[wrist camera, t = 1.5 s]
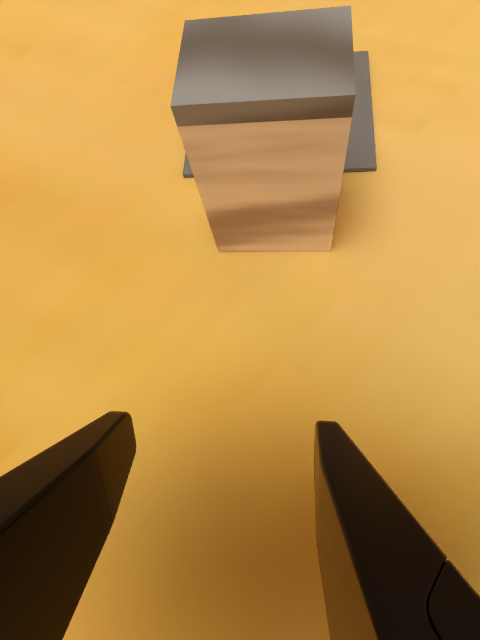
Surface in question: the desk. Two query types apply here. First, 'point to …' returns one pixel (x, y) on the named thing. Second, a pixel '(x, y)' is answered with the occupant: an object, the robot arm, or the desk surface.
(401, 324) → the desk surface
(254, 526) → the desk surface
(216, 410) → the desk surface
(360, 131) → the mat
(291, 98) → the cream block
